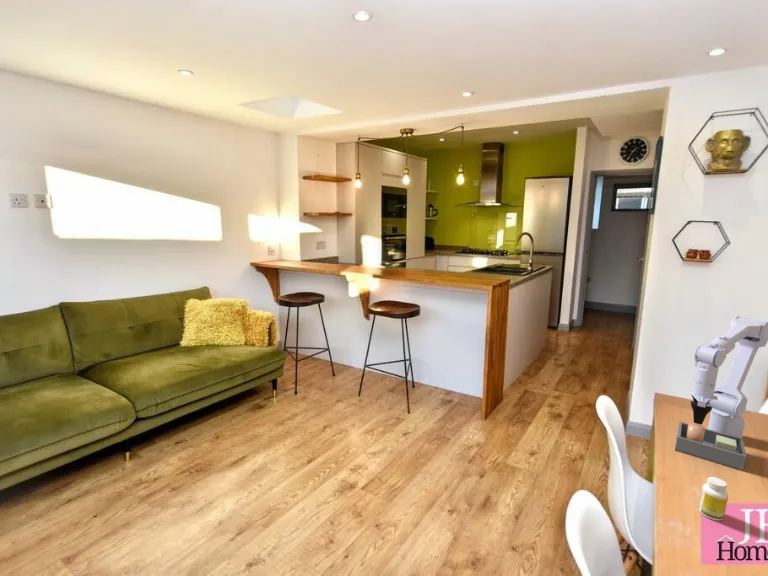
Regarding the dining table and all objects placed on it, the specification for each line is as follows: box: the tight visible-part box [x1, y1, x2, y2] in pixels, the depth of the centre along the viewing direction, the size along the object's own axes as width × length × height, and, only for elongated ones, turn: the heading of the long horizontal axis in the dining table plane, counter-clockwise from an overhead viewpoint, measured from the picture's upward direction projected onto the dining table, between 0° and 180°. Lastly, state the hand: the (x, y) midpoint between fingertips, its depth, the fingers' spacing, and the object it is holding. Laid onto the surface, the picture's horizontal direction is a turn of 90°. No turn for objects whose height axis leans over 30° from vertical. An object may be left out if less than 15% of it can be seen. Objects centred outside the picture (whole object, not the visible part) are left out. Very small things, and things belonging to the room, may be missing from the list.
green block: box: [714, 435, 737, 453], centre depth 136 cm, size 5×5×5 cm
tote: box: [674, 420, 747, 472], centre depth 139 cm, size 18×14×5 cm
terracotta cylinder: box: [686, 422, 705, 443], centre depth 141 cm, size 5×5×7 cm
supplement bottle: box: [698, 476, 729, 521], centre depth 109 cm, size 5×5×10 cm
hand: (697, 419), depth 140 cm, fingers open, 7 cm apart
